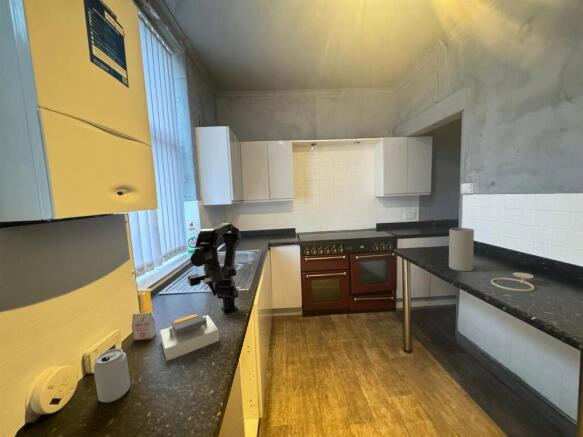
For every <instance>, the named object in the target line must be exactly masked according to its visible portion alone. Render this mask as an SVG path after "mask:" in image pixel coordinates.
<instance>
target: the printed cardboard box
mask: <svg viewBox="0 0 583 437" xmlns="http://www.w3.org/2000/svg"><path fill="white" fill-rule="evenodd" d="M131 329H132V330H131V331H132V336H133V338H132V339H133V341H141V340H142V341H143V340H151V339H153V338H154V337H155V336H156V334H157V331H156V323H155V319H154V317H153V315H152V312H141V313H140V312H139V313H133V314H132V323H131Z"/></svg>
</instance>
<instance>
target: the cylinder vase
mask: <svg viewBox="0 0 583 437" xmlns="http://www.w3.org/2000/svg"><path fill="white" fill-rule="evenodd" d="M448 237H449V238H448V268H449V269H451V270H453V271H456V272H457V271H459V272H470V271H473V269H474V242H475V241H474V239H475V230H474V229H473V228H467V227H451V228H449V234H448Z"/></svg>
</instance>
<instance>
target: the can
mask: <svg viewBox="0 0 583 437" xmlns="http://www.w3.org/2000/svg"><path fill="white" fill-rule="evenodd" d="M92 368H93V374H94V380H95V385H96V394H97V399H98V401H99V402H101V403H112V402H115V401H117V400H119V399H121V398H122V397H123V396H125V394H126V393H127V392H128V390H130V387H131V379H130V374H129V373H130V372H129V365H128V358H127V353H126V352H124V350H123V349H122V348H113V349H109V350H106V351H105V352H103V353H101V354H100V355H98V356H97V357H96V358H95V363H94V364H93V367H92Z"/></svg>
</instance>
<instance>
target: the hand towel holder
mask: <svg viewBox="0 0 583 437" xmlns="http://www.w3.org/2000/svg"><path fill="white" fill-rule="evenodd" d="M512 275H513V276H514V277H517V279H516V278H509V277H495V278H492V279H491V280H490V283H491V284H492V285H493V286H495V287H498V288H501V289H504V290H506V291H507V290H508V291H514V292H522V293H523V292H532V291H534V290H535V286H534V284H532V283H531V282H527V281H526V279H528V280H529V279H533V278H535V277H534V275H533V274H529V273H527V272H512ZM518 278H520V279H518ZM498 280H499V281H500V280H501V281H502V280H505V281H506V280H507V281H513V282H518V283H521V284H525V285H527V286H529V287H531V288H527V289H522V288H521V289H520V288H512V287H506V286H503V285H499V284H497V283H496V282H494V281H498Z"/></svg>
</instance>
